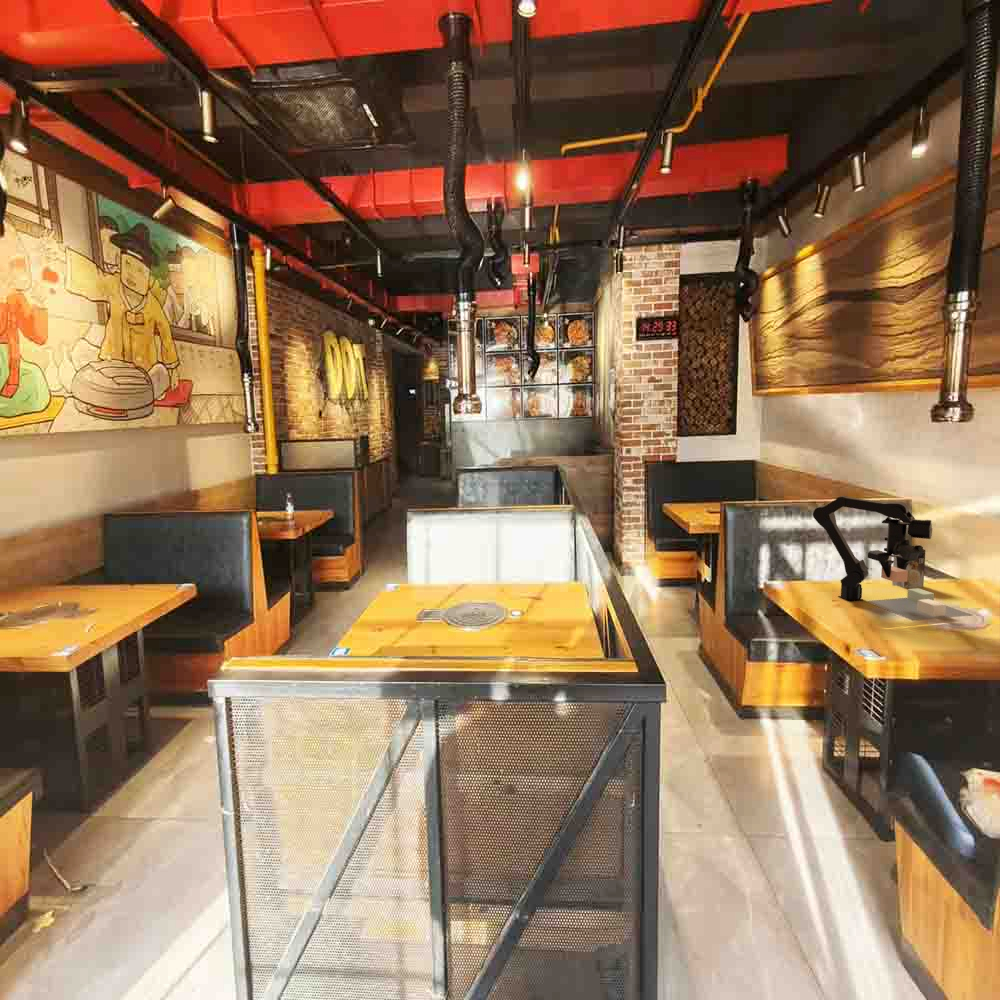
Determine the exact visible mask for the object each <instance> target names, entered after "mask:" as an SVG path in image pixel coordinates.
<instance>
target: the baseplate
mask: <svg viewBox="0 0 1000 1000" xmlns="http://www.w3.org/2000/svg"><path fill="white" fill-rule="evenodd" d="M865 602H866V603H867V604H871V605H873V606H876V607H878V608H880V609H883V610H886V611H888V612H890V613H893V614H895V615H899V616H901V617H903V618H905V619H908V620H910V621H921V620H923V621H925V620H933V619H935V620H936V619H944V618H945V619H946V618H957V617H967V616H973V614H971V613H969V612H966V611H962V610H959V609H957V608H954V607H952V606H949V605H947V604H944V603H941V602H938V601H936V600H934V601H933V600H930V599H922V600H918V603H917V602H914V601H911V600H908V599H907V597H900V598H898V597H897V598H888V599H887V598H886V599H875V600H874V599H873V600H865Z"/></svg>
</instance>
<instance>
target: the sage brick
mask: <svg viewBox="0 0 1000 1000" xmlns="http://www.w3.org/2000/svg"><path fill="white" fill-rule="evenodd" d="M906 598H907V599H908V600H911V601H914V602H917V603H918V600H922V599H930V600H933V601H935V600H934V599H935V593H934V592H931V591H927V590H925V589H922V588H920V587H915V588H907V596H906Z"/></svg>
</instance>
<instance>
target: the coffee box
mask: <svg viewBox="0 0 1000 1000" xmlns="http://www.w3.org/2000/svg"><path fill="white" fill-rule="evenodd" d="M923 553H924V558H917V559H916V560H915V561H912V562H910V563H909V564H908V566H907V567H906V569H905V570H906V571H908V579H907V582H893V581H891V582H892V584H891V585H892V586H897V587H899V588H903V589H914V588H924V583H925V582H924V581H925V579H924V578H925V564H926V563H925V562H926V549H924V548H923ZM893 561H894V562H893V563H892V566H893V567H897V560H896V557H893Z"/></svg>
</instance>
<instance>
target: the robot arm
mask: <svg viewBox="0 0 1000 1000" xmlns="http://www.w3.org/2000/svg"><path fill="white" fill-rule="evenodd" d="M842 508H849V509H856V510H863V511H867V512H874V513H877V514H880V515H883V516H886V518H885V519H883V520H882V521H881V524H887V535H886V536H887V537H884V541H885V542H886V547H884V548H883V550H878V549H876V550H869V551H867V558H868V559H871V560H874V561H878V563H879V565H880V566H881V569H882V568H883V570H884V572H885V574H886V576H887V577H888V578H889V577H890V574H891V566H893V562H894V560H892V559H893V558H894V557H896V560H897V568H900V569H903V570H905V569H906V567H907V566H908V564H909V563H910V562H912V561H915V560H916V559H917V558H924V553H923V549H924V546H922V545H921V544H920V545H918V544H917V545H910V541H909V539H907V535H909V536H910V537H911V538H915V539H926V540H931V539H932V537H933V526H932V525H933V523H932V520H931V519H916V518H915V516H914V515H913V514H912V513H911V512H910V508H909V505H908V504H907V503H906V502H903V501H894V500H893V501H892V500H891V501H878V500H872V499H866V498H865V499H864V498H857V497H852V496H851V497H850V496H846V495H840V496H838V497H836V498H835V499H834V500H833V501H830V502H829V503H828V504H826V505H825V504H824V505H820V506H818V507H816V508H814V510H813V512H812V517H813V519H814V520H815V521H816V523H817V524H818V525H819V526H820V527H822V528H823V529H824V531H826V534H827V535H828V537H829V539H830V541H831V542H832V543H833V546H834V547H835V549H836V551H837V552H838V553H837V554H839V557H840V558H841V560H842V562H843V564H844V570H845V573H846V576H844V577H842V579H840V585H841V587H840V595H838V596H837V598H839V599H841V600H843V601H846V602H849V603H850V602H861V601H862V602H863V601H864V599H863V596H862V595H863V587H862V582H864V580H866V579H867V577H868V576H869V567H868V566H867V565H866V563H865V560H864V559H861V560H859V559H858V558H857V557H856V556H855V554H854V552H853V551H852V549H851V547H850V545H849V544H848V542H847V541H846V538H845V537H844V535H843V533H842V531H841V530H840V528H839V526H838V525H837V519H836V516H835V512H837V511H838V510H840V509H842ZM864 602H865V601H864Z"/></svg>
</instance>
